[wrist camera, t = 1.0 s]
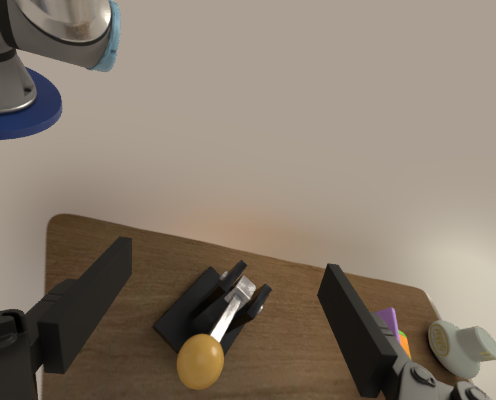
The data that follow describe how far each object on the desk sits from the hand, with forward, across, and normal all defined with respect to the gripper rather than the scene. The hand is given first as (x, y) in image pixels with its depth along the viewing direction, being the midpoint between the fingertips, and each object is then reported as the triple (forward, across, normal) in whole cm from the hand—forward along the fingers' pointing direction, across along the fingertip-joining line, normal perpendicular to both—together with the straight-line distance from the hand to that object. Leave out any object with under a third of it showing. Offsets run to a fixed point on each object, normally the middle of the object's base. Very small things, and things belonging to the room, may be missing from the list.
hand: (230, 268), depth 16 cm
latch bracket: (+15, -1, -20) cm, 25 cm away
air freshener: (+25, +52, -33) cm, 67 cm away
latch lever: (+4, 0, -11) cm, 12 cm away
